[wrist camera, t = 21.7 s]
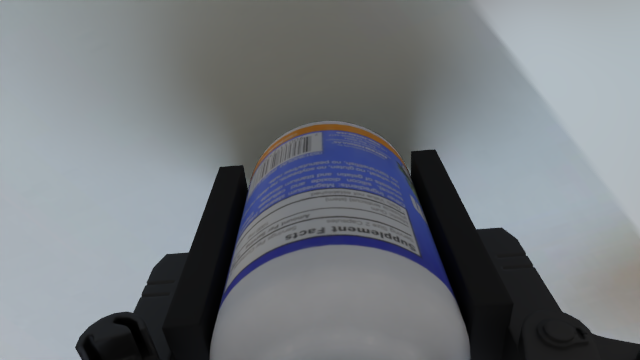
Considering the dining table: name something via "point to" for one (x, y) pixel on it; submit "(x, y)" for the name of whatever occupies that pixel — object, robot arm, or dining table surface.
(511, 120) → the dining table surface
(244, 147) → the dining table surface
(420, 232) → the pill bottle
